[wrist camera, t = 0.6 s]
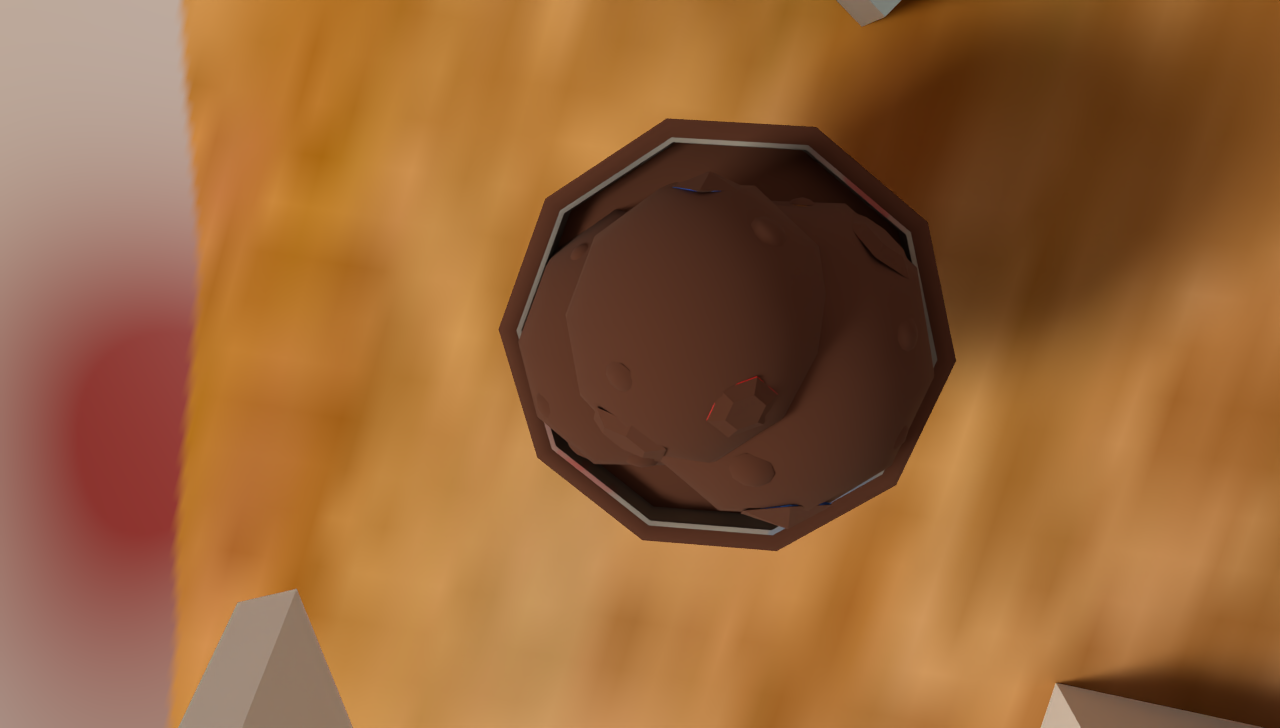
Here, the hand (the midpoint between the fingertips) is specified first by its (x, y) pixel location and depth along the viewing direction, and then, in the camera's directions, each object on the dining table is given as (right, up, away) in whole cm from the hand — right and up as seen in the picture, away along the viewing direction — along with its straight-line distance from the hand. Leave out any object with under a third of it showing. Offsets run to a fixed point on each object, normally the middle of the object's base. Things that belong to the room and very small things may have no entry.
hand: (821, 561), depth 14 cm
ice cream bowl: (0, +5, +22) cm, 23 cm away
